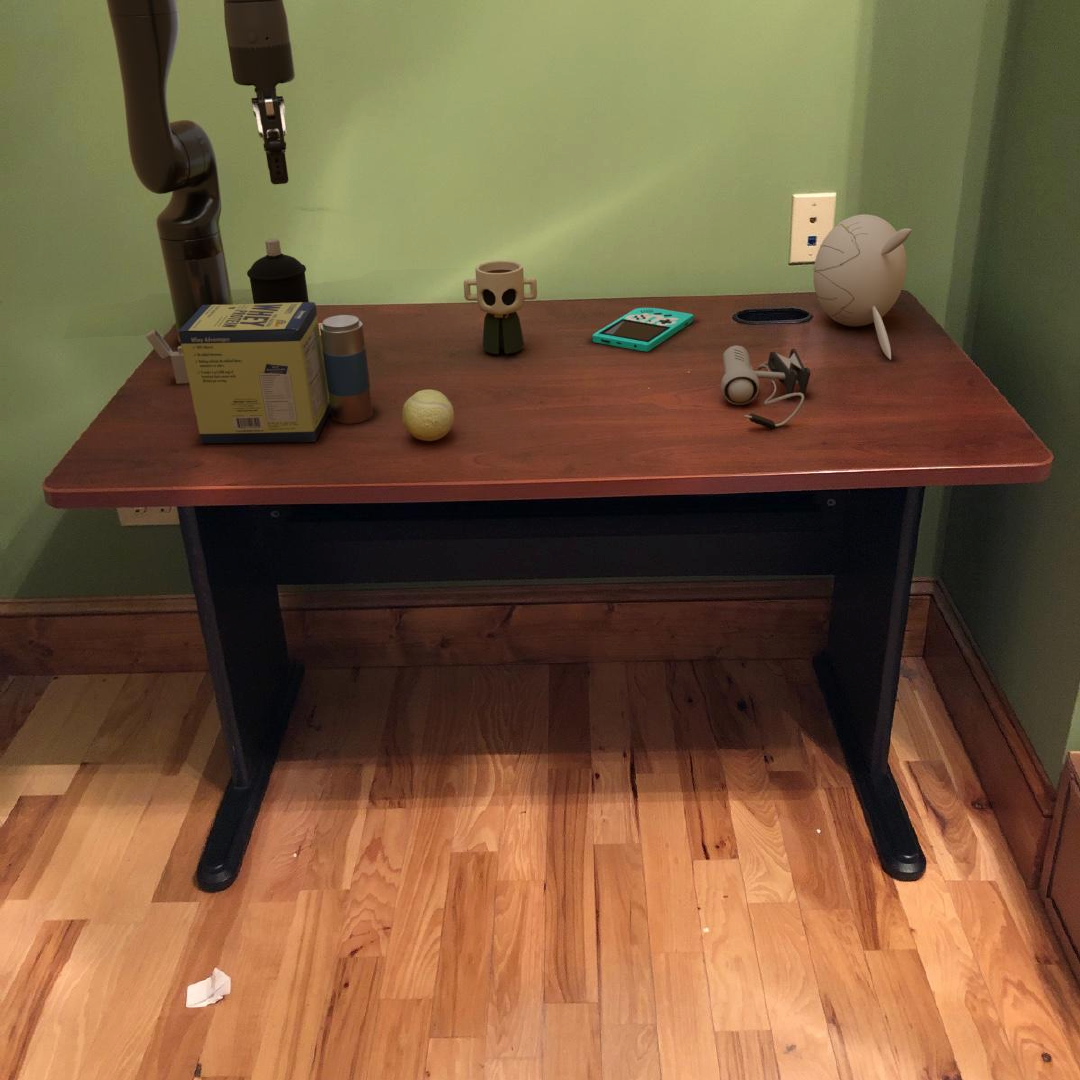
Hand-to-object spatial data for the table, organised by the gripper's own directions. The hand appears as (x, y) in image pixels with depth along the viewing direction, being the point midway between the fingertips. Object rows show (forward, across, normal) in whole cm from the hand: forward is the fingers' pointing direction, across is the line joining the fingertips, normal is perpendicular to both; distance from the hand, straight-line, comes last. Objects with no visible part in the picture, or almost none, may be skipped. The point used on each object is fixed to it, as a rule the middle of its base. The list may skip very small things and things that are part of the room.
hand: (278, 176), depth 148 cm
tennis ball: (+30, -21, -14) cm, 39 cm away
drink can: (+30, -10, -5) cm, 32 cm away
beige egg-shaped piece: (+30, -2, -85) cm, 90 cm away
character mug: (+30, +8, -30) cm, 43 cm away
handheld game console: (+30, +9, -53) cm, 62 cm away
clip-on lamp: (+30, -24, -59) cm, 71 cm away
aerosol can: (+30, +8, +2) cm, 31 cm away
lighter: (+30, +11, +18) cm, 37 cm away
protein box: (+30, -10, +6) cm, 33 cm away
